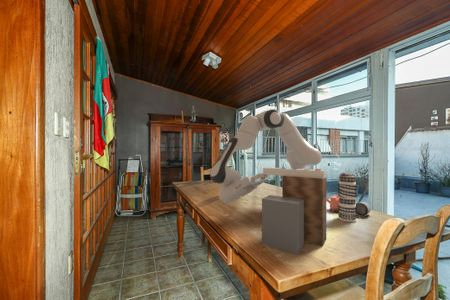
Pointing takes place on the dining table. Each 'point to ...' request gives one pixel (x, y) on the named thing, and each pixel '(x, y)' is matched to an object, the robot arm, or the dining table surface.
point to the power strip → (295, 172)
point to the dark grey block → (283, 223)
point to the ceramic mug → (362, 209)
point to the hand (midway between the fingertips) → (266, 173)
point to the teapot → (333, 202)
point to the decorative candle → (347, 197)
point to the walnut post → (309, 205)
